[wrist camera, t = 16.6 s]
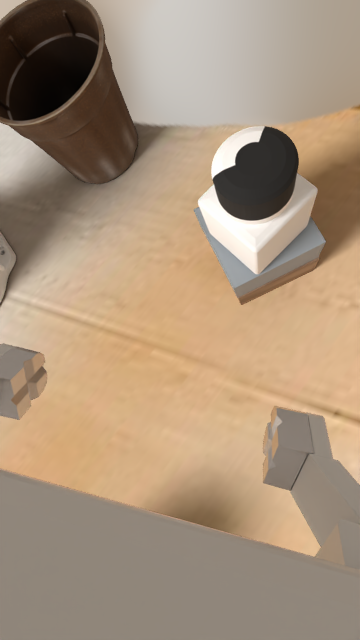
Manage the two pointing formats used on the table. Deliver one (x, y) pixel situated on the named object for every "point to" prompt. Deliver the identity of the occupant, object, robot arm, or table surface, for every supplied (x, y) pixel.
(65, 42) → the plant pot
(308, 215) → the medicine bottle
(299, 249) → the tower top block
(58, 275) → the table surface
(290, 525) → the table surface
